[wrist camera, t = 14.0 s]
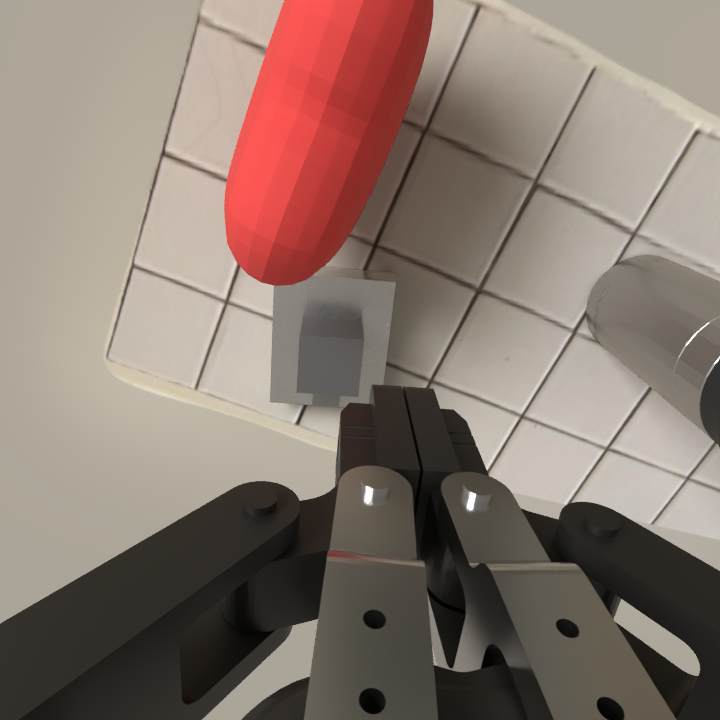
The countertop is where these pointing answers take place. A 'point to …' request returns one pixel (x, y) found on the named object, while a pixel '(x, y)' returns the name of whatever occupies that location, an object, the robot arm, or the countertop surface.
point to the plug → (330, 356)
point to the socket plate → (338, 301)
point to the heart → (320, 130)
